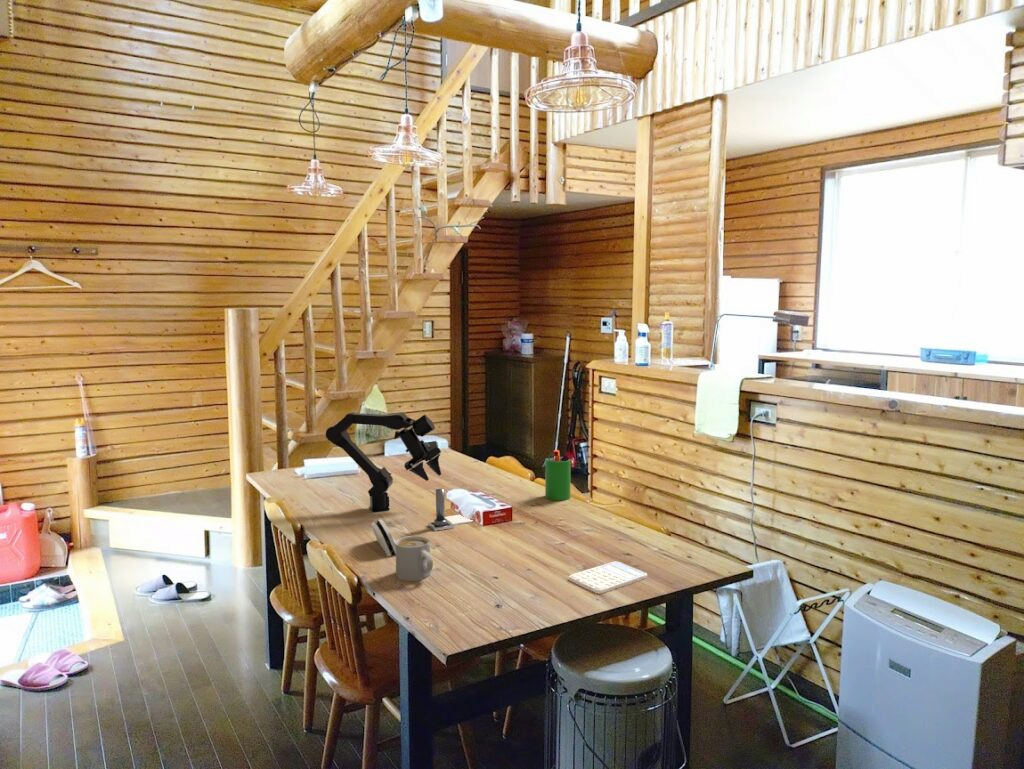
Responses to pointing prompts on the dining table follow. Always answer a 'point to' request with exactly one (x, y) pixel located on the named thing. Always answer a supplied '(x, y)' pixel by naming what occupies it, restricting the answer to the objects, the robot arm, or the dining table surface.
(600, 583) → the calculator
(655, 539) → the dining table surface
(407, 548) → the coffee mug
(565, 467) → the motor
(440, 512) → the grey metal post
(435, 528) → the gray square frame
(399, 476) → the dining table surface
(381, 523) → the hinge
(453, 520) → the mat
